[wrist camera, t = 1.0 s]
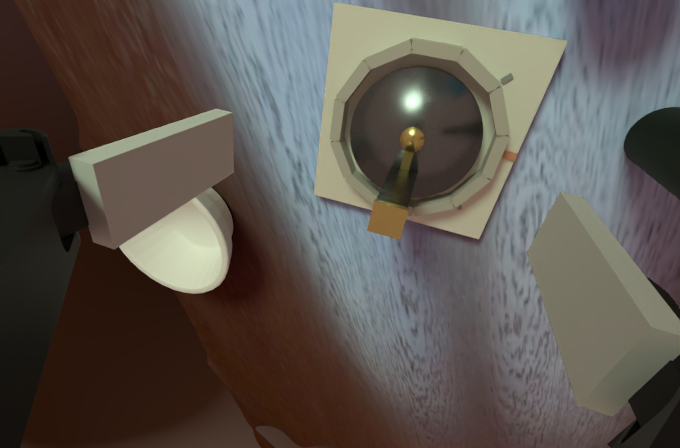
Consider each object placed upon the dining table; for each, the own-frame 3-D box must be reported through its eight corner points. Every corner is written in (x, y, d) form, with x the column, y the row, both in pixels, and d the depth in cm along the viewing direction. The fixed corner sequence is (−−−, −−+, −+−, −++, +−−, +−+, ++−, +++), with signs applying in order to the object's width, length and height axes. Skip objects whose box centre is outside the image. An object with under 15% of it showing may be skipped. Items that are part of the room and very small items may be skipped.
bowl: (243, 155, 48) (208, 177, 41) (265, 272, 59) (240, 304, 52) (126, 146, 53) (79, 165, 47) (166, 254, 64) (131, 282, 57)
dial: (364, 53, 35) (331, 65, 26) (504, 80, 33) (522, 103, 23) (345, 176, 43) (314, 218, 33) (457, 204, 40) (456, 259, 31)
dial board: (338, 2, 35) (328, 1, 32) (564, 40, 31) (574, 42, 28) (317, 189, 47) (308, 200, 44) (478, 233, 43) (479, 248, 40)
